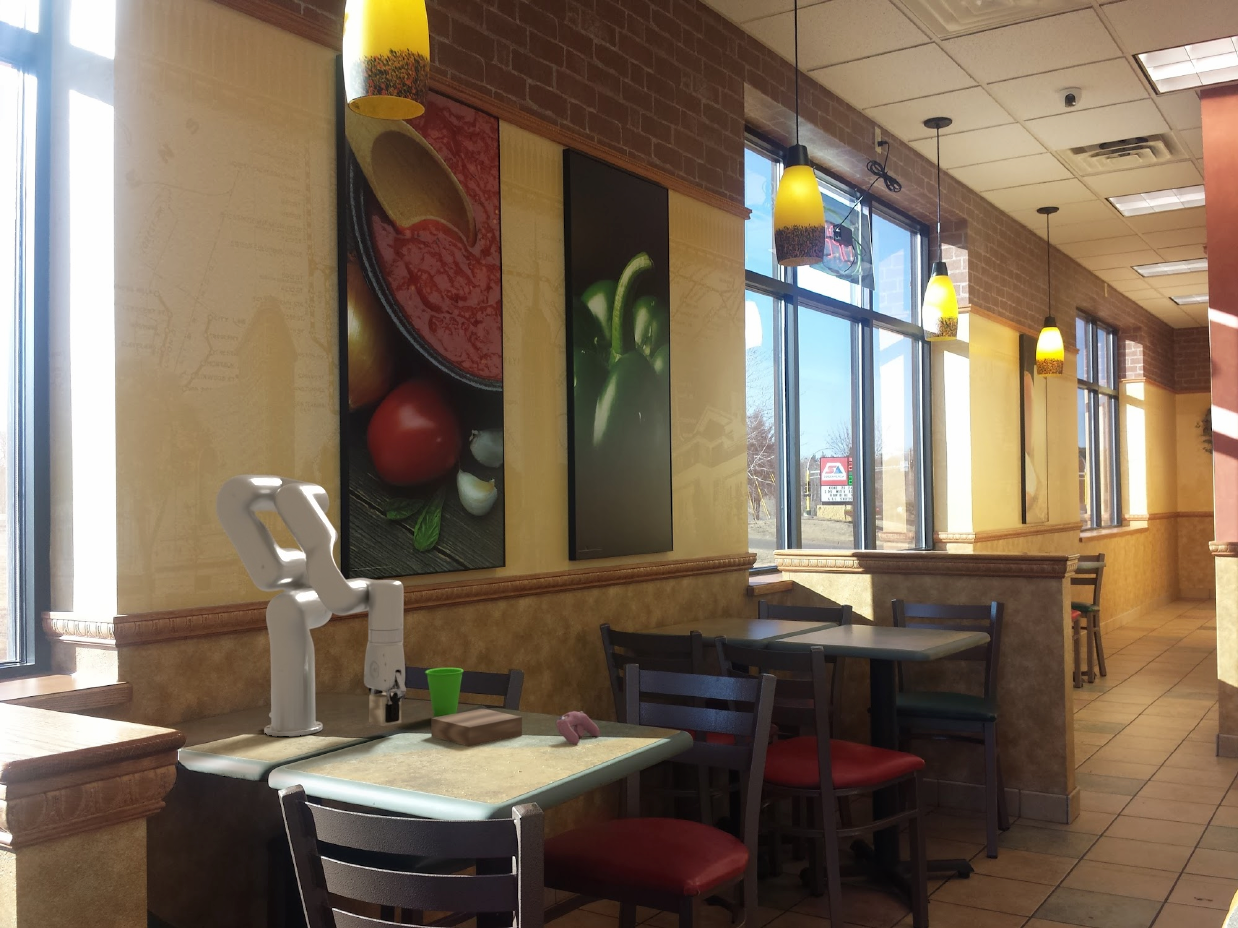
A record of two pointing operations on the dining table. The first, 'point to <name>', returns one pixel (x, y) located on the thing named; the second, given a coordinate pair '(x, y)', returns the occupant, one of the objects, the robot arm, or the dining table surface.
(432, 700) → the cup
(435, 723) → the walnut block
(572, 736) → the video game controller
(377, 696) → the birch block
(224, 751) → the dining table surface
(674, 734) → the dining table surface
